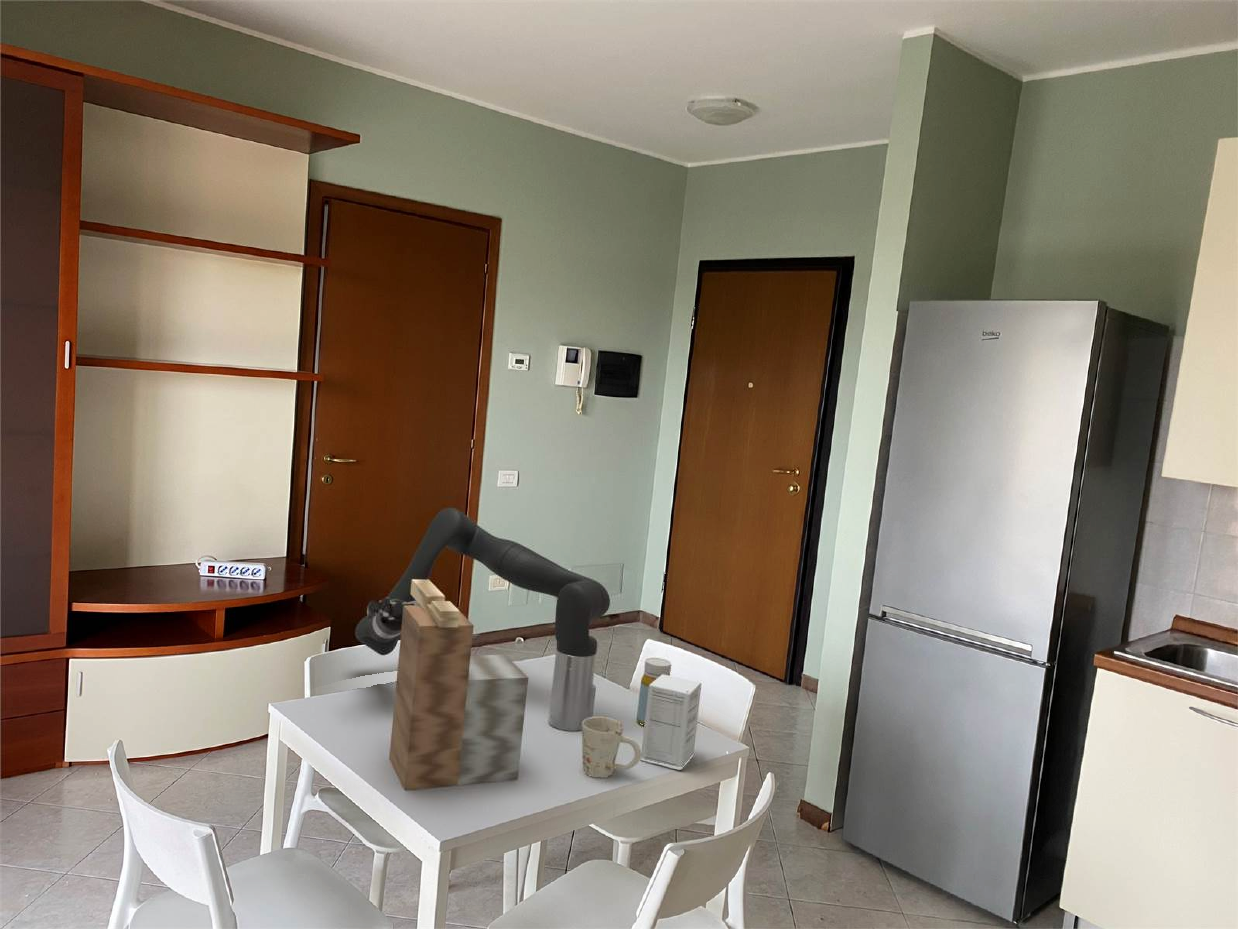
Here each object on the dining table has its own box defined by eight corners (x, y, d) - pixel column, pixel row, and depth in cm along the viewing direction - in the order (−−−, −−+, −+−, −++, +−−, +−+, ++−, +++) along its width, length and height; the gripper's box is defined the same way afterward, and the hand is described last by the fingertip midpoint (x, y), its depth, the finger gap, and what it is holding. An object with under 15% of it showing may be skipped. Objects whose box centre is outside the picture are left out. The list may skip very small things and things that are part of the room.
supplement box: (694, 757, 197) (703, 682, 195) (681, 772, 188) (691, 694, 187) (653, 746, 200) (662, 672, 199) (638, 761, 192) (648, 684, 190)
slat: (427, 593, 187) (428, 579, 187) (457, 627, 166) (459, 611, 166) (410, 593, 186) (411, 579, 186) (439, 627, 164) (440, 611, 164)
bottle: (663, 731, 210) (670, 668, 208) (633, 725, 211) (641, 663, 210) (667, 721, 217) (675, 660, 215) (639, 715, 218) (646, 655, 217)
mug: (581, 760, 189) (586, 714, 188) (640, 770, 187) (646, 723, 186) (573, 776, 180) (578, 728, 179) (635, 787, 179) (641, 738, 178)
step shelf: (495, 750, 189) (510, 605, 186) (517, 779, 176) (534, 624, 173) (389, 758, 179) (403, 605, 176) (404, 790, 167) (420, 626, 164)
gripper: (360, 603, 206) (374, 583, 193) (422, 603, 212) (440, 584, 199) (360, 635, 203) (375, 618, 190) (423, 635, 209) (441, 618, 196)
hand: (408, 601), depth 194 cm, fingers open, 8 cm apart
